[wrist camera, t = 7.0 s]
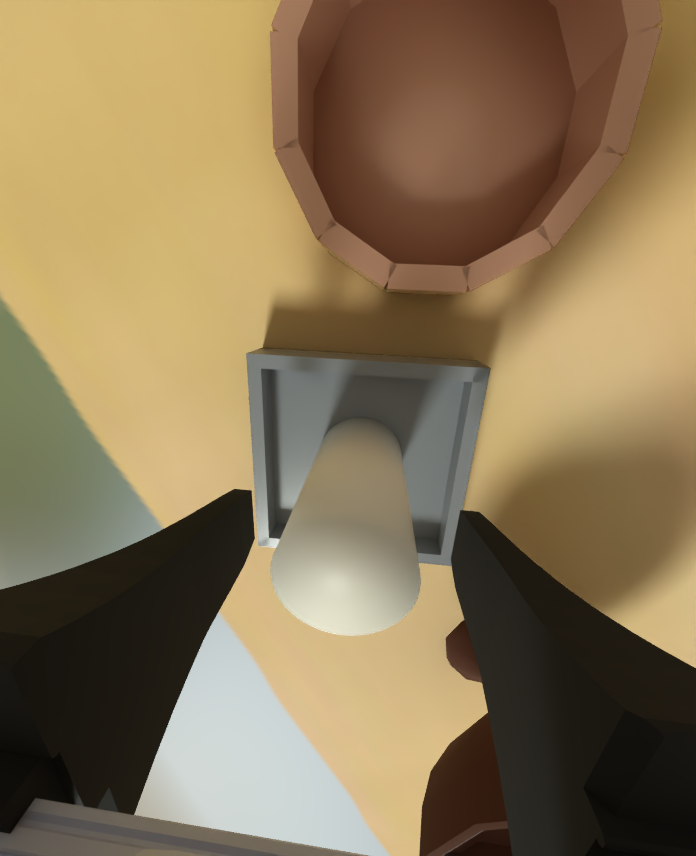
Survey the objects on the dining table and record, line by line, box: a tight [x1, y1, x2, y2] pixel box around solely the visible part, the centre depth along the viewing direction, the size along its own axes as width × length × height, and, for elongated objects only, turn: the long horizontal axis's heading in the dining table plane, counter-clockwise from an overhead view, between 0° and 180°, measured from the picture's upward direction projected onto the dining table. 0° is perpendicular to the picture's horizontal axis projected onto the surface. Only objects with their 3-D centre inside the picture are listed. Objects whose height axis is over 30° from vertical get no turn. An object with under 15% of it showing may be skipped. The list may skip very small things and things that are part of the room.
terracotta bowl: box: [270, 0, 662, 295], centre depth 11 cm, size 11×11×3 cm
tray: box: [246, 348, 491, 566], centre depth 16 cm, size 10×10×2 cm
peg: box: [270, 417, 421, 636], centre depth 12 cm, size 4×4×8 cm
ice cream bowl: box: [420, 622, 512, 856], centre depth 14 cm, size 11×11×15 cm
